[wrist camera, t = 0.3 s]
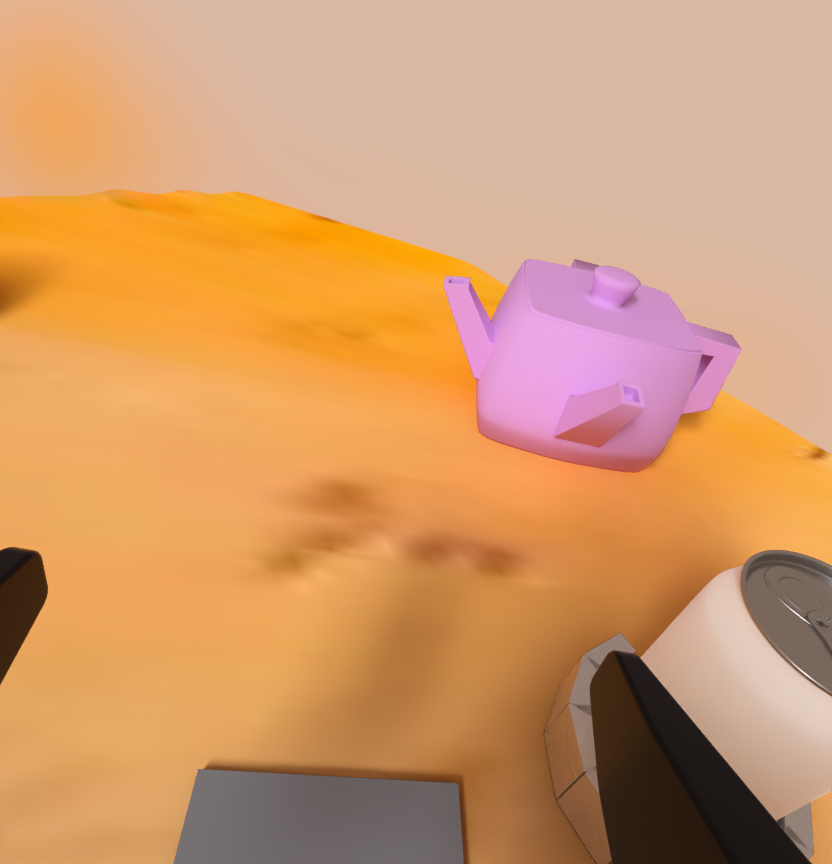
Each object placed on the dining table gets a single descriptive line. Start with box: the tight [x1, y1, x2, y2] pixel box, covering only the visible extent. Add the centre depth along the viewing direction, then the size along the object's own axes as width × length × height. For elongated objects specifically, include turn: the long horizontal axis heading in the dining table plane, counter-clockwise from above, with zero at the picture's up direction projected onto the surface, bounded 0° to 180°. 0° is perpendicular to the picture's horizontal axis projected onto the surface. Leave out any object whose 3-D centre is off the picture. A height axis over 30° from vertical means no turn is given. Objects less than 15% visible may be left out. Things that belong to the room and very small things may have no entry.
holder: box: [544, 633, 814, 864], centre depth 23 cm, size 10×10×3 cm
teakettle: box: [444, 259, 742, 472], centre depth 41 cm, size 17×17×12 cm
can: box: [640, 550, 832, 820], centre depth 20 cm, size 6×6×12 cm
